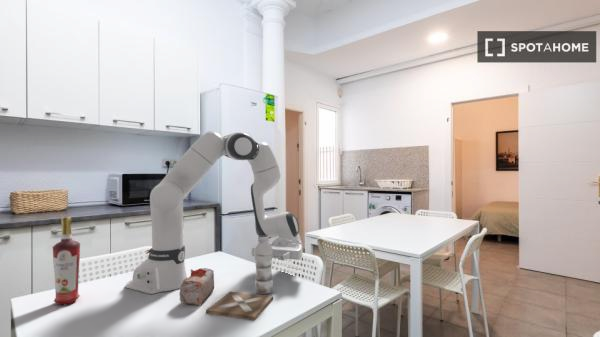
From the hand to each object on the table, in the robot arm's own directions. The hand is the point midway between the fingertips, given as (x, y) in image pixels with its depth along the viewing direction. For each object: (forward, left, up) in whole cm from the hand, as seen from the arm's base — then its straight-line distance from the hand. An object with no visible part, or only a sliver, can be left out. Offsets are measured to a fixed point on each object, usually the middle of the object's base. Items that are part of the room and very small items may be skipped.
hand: (270, 256), depth 117 cm
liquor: (-60, -31, -11) cm, 68 cm away
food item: (-20, -16, -11) cm, 28 cm away
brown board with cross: (-3, -18, -11) cm, 21 cm away
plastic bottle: (0, -7, -11) cm, 13 cm away
